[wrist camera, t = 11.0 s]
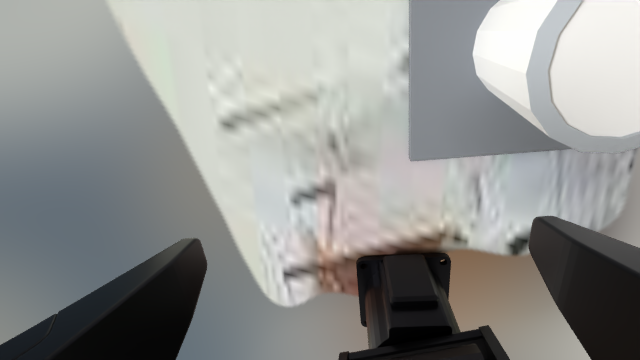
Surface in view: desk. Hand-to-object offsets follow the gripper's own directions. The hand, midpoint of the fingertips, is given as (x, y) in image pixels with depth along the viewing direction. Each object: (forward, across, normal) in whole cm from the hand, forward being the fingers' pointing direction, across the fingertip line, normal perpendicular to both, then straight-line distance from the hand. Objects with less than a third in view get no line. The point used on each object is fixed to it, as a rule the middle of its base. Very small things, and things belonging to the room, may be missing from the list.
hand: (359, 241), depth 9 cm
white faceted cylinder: (+12, -9, -3) cm, 15 cm away
